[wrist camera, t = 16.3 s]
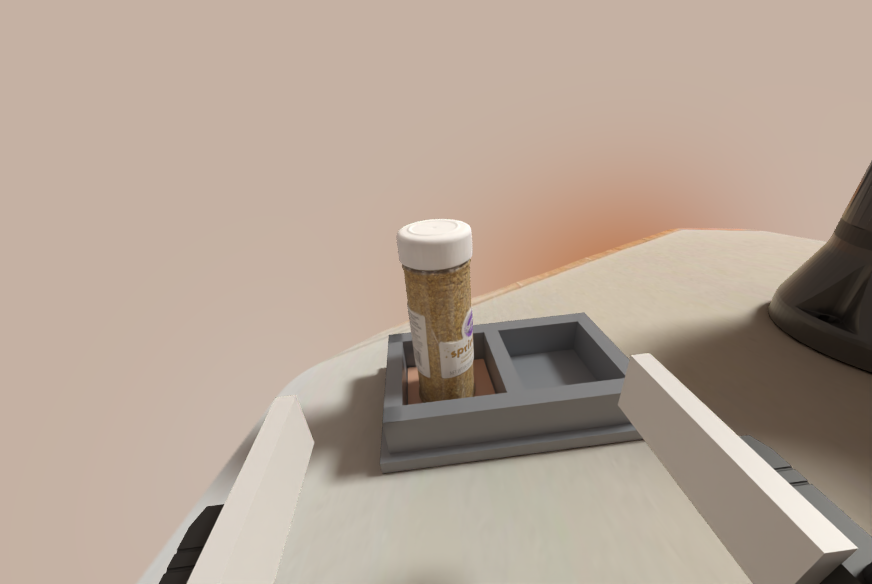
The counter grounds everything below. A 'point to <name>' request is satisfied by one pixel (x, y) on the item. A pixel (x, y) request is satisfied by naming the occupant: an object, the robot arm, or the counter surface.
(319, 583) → the counter surface
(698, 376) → the counter surface
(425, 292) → the sprinkles bottle
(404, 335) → the bottle caddy
